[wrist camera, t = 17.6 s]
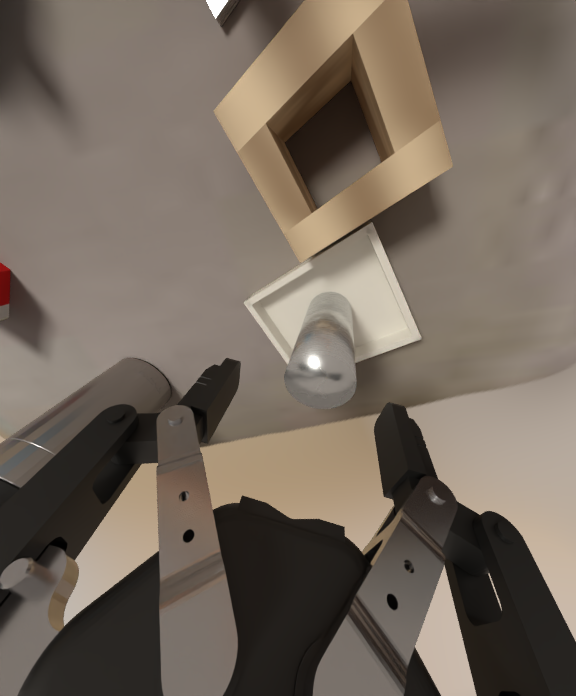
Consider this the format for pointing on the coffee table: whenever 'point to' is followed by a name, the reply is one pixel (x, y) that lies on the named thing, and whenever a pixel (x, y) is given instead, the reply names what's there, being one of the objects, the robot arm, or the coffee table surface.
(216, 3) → the pivot post
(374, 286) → the tray
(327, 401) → the silver metal cylinder
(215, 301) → the coffee table surface
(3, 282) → the puzzle toy
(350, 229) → the block
